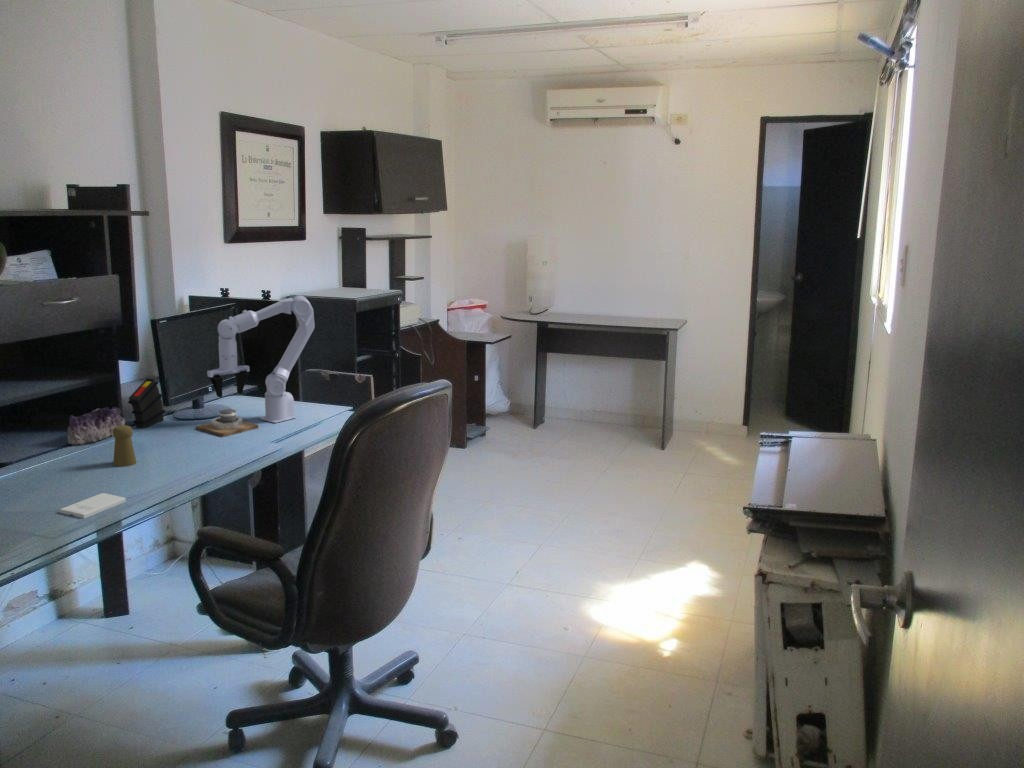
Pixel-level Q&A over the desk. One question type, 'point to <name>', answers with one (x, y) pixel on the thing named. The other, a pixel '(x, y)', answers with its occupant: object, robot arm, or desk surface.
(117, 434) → the cork
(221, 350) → the robot arm
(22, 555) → the desk surface
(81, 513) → the external hard drive
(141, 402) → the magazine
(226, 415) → the charcoal lens
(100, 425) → the geode
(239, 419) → the mount ring
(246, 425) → the walnut board
